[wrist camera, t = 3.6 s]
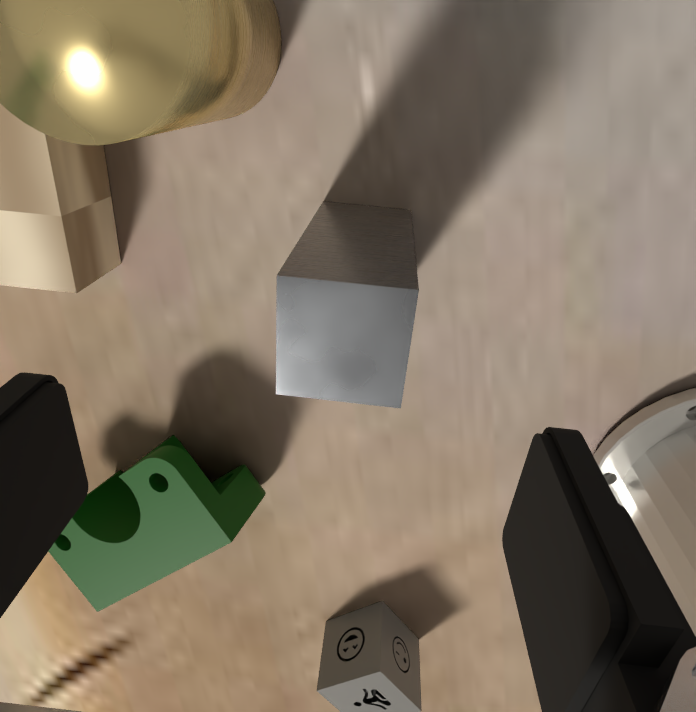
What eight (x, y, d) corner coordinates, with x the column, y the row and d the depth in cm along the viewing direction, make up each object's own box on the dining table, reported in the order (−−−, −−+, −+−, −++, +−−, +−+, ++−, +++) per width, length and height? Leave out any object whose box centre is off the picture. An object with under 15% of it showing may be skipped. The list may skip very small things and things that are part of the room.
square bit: (411, 210, 23) (418, 290, 14) (400, 292, 25) (400, 408, 16) (323, 201, 23) (276, 275, 14) (318, 284, 25) (276, 394, 16)
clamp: (218, 400, 34) (190, 428, 25) (269, 470, 35) (260, 521, 26) (69, 503, 34) (-14, 569, 25) (124, 572, 34) (62, 661, 25)
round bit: (282, -52, 19) (178, -168, 10) (280, 125, 22) (198, 156, 13) (124, -65, 19) (-113, -189, 10) (143, 112, 22) (-29, 134, 13)
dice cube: (418, 638, 38) (421, 711, 33) (363, 656, 39) (358, 727, 35) (382, 599, 36) (380, 671, 32) (326, 620, 38) (316, 690, 33)
